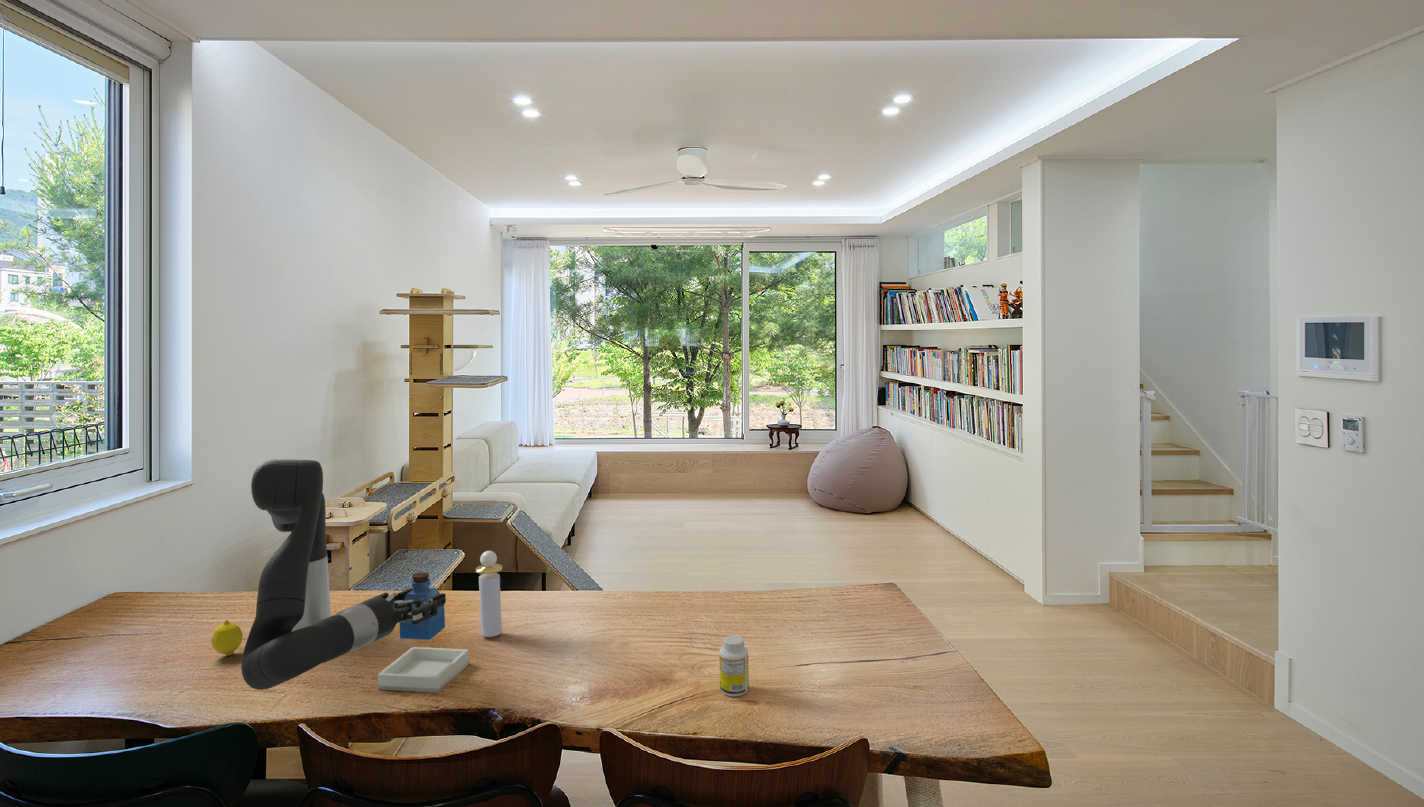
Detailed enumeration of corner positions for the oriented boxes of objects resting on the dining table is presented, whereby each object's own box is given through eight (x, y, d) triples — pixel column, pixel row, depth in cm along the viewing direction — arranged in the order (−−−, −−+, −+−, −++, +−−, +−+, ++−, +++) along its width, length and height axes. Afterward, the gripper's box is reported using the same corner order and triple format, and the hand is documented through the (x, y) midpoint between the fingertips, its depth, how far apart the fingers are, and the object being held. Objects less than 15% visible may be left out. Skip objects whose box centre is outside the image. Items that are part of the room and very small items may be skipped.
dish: (378, 689, 139) (377, 674, 139) (413, 660, 152) (412, 646, 151) (438, 692, 138) (437, 678, 137) (469, 663, 150) (468, 649, 150)
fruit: (206, 659, 153) (204, 623, 153) (232, 648, 159) (229, 613, 158) (225, 663, 152) (222, 626, 151) (249, 652, 157) (247, 616, 156)
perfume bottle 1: (445, 627, 146) (442, 570, 145) (429, 639, 140) (427, 580, 139) (416, 626, 147) (414, 569, 146) (400, 638, 141) (397, 579, 140)
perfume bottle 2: (492, 643, 160) (489, 556, 158) (473, 638, 162) (469, 553, 160) (510, 633, 165) (506, 549, 163) (490, 629, 168) (487, 546, 166)
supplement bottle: (731, 680, 141) (731, 631, 140) (754, 689, 138) (754, 638, 137) (713, 691, 137) (713, 640, 136) (736, 701, 133) (736, 648, 132)
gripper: (389, 610, 127) (455, 581, 142) (332, 599, 132) (401, 573, 147) (391, 650, 128) (457, 618, 143) (334, 638, 133) (403, 608, 148)
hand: (428, 595), depth 145 cm, fingers closed on perfume bottle 1, 7 cm apart
